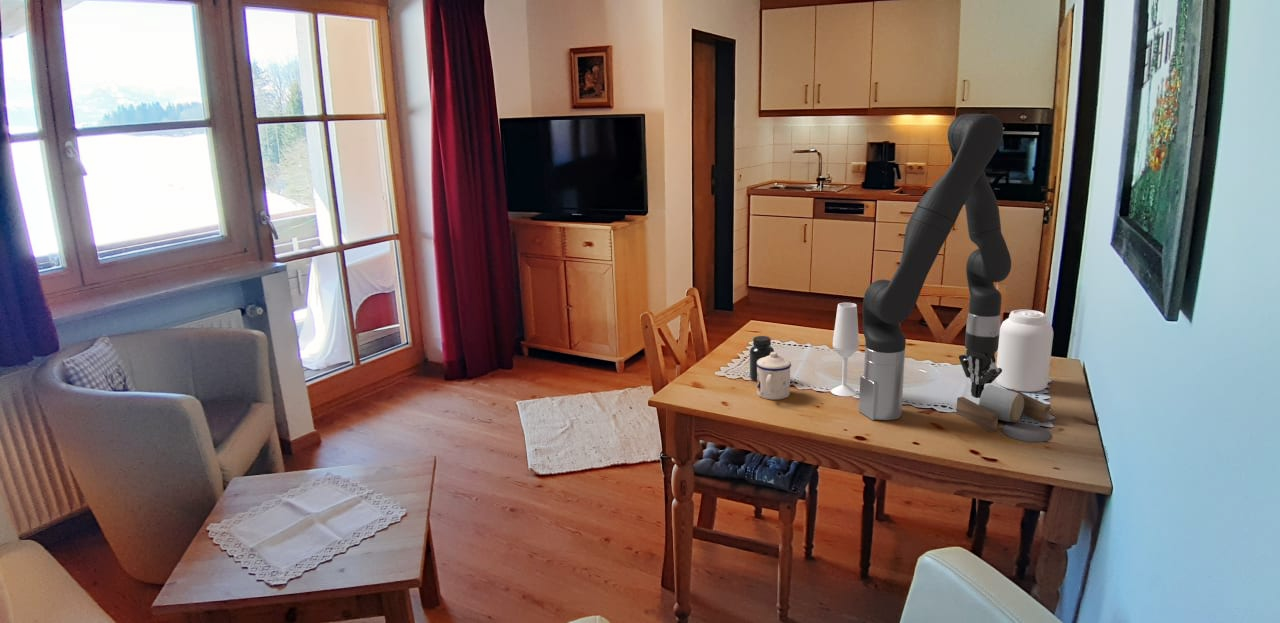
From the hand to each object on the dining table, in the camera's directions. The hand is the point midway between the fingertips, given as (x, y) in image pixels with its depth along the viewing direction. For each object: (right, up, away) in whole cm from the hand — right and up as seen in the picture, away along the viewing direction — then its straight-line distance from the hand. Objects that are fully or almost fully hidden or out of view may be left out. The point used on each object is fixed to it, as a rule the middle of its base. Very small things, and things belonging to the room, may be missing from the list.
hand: (976, 396), depth 187 cm
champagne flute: (-30, 0, +12) cm, 32 cm away
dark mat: (+4, -6, -16) cm, 18 cm away
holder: (+2, -4, -8) cm, 9 cm away
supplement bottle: (-50, +2, +24) cm, 56 cm away
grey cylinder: (+2, -4, -8) cm, 9 cm away
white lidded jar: (+17, +2, +12) cm, 21 cm away
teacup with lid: (-50, -1, +11) cm, 51 cm away
